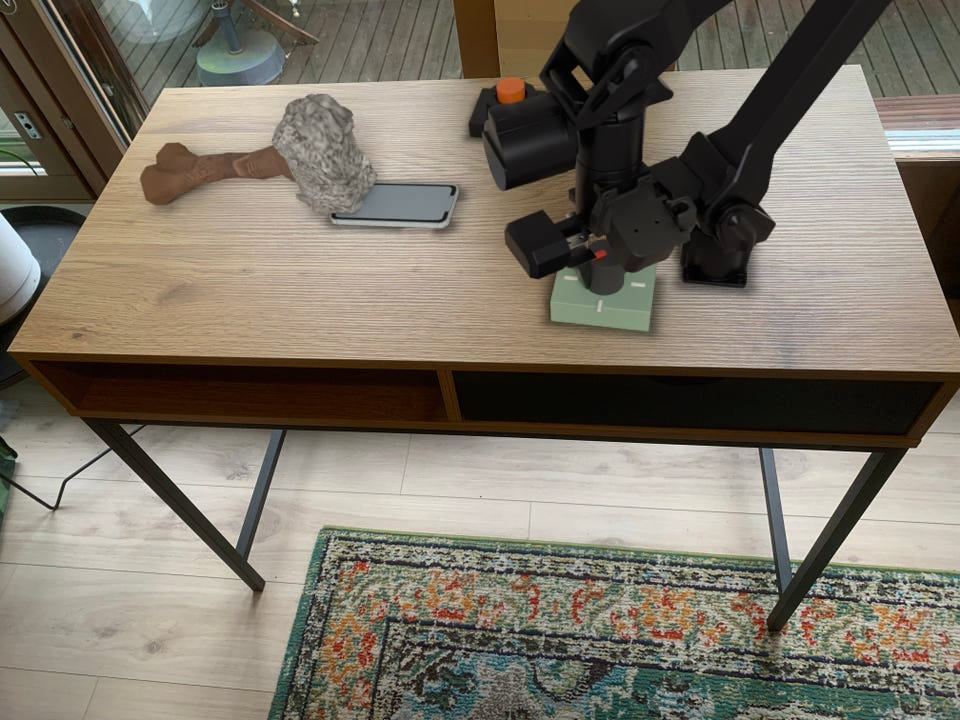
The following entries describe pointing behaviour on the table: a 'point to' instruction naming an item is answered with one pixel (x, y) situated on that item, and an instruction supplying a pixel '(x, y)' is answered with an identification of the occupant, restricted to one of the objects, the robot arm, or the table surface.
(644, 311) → the dial panel
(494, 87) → the button base
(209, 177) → the hammer
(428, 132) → the table surface
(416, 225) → the smartphone
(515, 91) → the button
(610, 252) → the dial
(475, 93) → the table surface
